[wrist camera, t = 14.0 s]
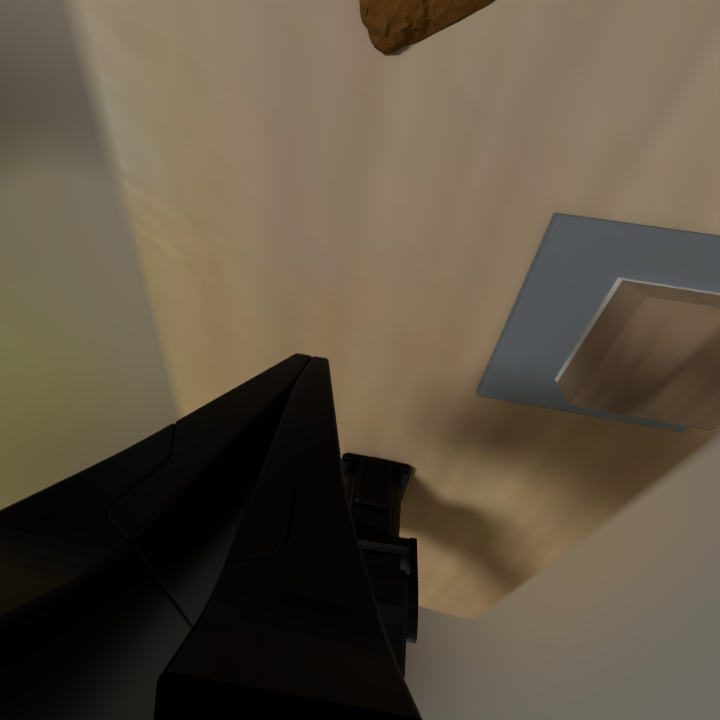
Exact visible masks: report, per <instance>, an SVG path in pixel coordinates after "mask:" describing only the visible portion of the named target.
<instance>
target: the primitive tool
mask: <svg viewBox="0 0 720 720" xmlns="http://www.w3.org/2000/svg"><path fill="white" fill-rule="evenodd" d="M359 1H360V13H361V19H362V22H363V24H364V25H365V26H366V27H367V28H368V33H369V37H370V40H371V42H372V44H373V46H374V47H375V48H376V49H378V50H379V51H380V52H382V53H386V52H393V51H396V50H398V49H399V48H401V47H402V46H405V45H410V44H413V43H416V42H420V41H422V40H424V39H426V38H427V37H429V36H431V35H433V34H434V33H436V32H438V31H440V30H442V29H444V28H446V27H448V26H450V25H452V24H454V23H456V22H458V21H460V20H462V19H464V18H466V17H467V16H469V15H471V14H473V13H475V12H476V11H478V10H479V9H481V8H483V7H484V6H486V5H487V4H488V3H489V2H490V1H492V0H359Z"/></svg>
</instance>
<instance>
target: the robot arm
mask: <svg viewBox="0 0 720 720" xmlns="http://www.w3.org/2000/svg"><path fill="white" fill-rule="evenodd" d="M410 474H411V467H410V466H408V465H404V464H399V463H394V462H388V461H383V460H378V459H373V458H368V457H363V456H358V455H353V454H348V453H346V454H343V456H342V460H341V457H340V447H339V439H338V431H337V423H336V415H335V408H334V400H333V392H332V384H331V376H330V368H329V361H328V359H327V358H321V357H316V356H314V357H311V356H310V355H304V354H299V353H297V354H294V355H292V356H290V357H289V358H287V359H285V360H283V361H282V362H280V363H278V364H276V365H275V366H273V367H271V368H269V369H268V370H266V371H264V372H262V373H261V374H259V375H257V376H255V377H253V378H252V379H250V380H248V381H246V382H245V383H243V384H241V385H239V386H238V387H236V388H234V389H232V390H231V391H229V392H227V393H225V394H224V395H222V396H220V397H218V398H216V399H215V400H213V401H211V402H209V403H208V404H206V405H204V406H202V407H201V408H199V409H197V410H195V411H194V412H192V413H190V414H188V415H187V416H185V417H183V418H181V419H179V420H178V421H176V423H175V424H170V425H169V426H167V427H165V428H163V429H162V430H160V431H158V432H156V433H155V434H153V435H151V436H149V437H147V438H145V439H144V440H142V441H140V442H138V443H136V444H134V445H132V446H131V447H129V448H127V449H125V450H123V451H121V452H119V453H117V454H115V455H113V456H111V457H109V458H107V459H105V460H103V461H101V462H99V463H97V464H95V465H93V466H91V467H89V468H87V469H85V470H83V471H81V472H79V473H77V474H74V475H73V476H70V477H68V478H66V479H64V480H62V481H60V482H58V483H56V484H54V485H52V486H50V487H47V488H45V489H44V490H41V491H39V492H37V493H35V494H33V495H31V496H29V497H27V498H25V499H23V500H20V501H19V502H16V503H14V504H12V505H10V506H8V507H6V508H4V509H2V510H0V720H422V718H421V716H420V713H419V711H418V709H417V707H416V704H415V702H414V700H413V698H412V695H411V693H410V691H409V689H408V686H407V684H406V682H405V680H404V676H405V653H406V642H409V643H413V644H416V640H417V626H418V567H417V539H416V538H410V539H407V538H401V537H399V530H400V510H401V501H402V498H403V495H404V492H405V489H406V486H407V483H408V480H409V477H410Z"/></svg>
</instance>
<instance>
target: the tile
mask: <svg viewBox="0 0 720 720" xmlns="http://www.w3.org/2000/svg"><path fill="white" fill-rule="evenodd" d="M555 381H556V382H557V384H558V386H559V387H560V389H561V391H562V393H563V394H564V396H565V398H566V399H567V401H568V403H569V405H572V406H577V407H583V408H588V409H594V410H599V411H605V412H610V413H616V414H621V415H627V416H633V417H638V418H644V419H649V420H655V421H660V422H666V423H671V424H677V425H682V426H688V427H693V428H699V429H704V430H710V431H712V430H713V429H714V428H715V427H717V426H718V425H719V424H720V293H716V292H710V291H703V290H697V289H690V288H684V287H677V286H671V285H664V284H658V283H651V282H645V281H638V280H632V279H625V278H619V277H618V279H617V280H616V282H615V283H614V285H613V287H612V288H611V290H610V291H609V293H608V295H607V296H606V298H605V299H604V301H603V303H602V304H601V306H600V307H599V309H598V311H597V312H596V314H595V315H594V317H593V319H592V320H591V322H590V323H589V325H588V327H587V328H586V330H585V331H584V333H583V335H582V336H581V338H580V339H579V341H578V343H577V344H576V346H575V347H574V349H573V351H572V352H571V354H570V355H569V357H568V359H567V360H566V362H565V363H564V365H563V367H562V368H561V370H560V372H559V373H558V375H557V376H556V378H555Z"/></svg>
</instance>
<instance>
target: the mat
mask: <svg viewBox="0 0 720 720" xmlns="http://www.w3.org/2000/svg"><path fill="white" fill-rule="evenodd" d="M618 277H619V278H625V279H632V280H638V281H645V282H651V283H658V284H664V285H671V286H677V287H684V288H690V289H697V290H703V291H710V292H716V293H720V236H719V235H712V234H705V233H697V232H690V231H683V230H676V229H668V228H661V227H654V226H647V225H640V224H632V223H625V222H618V221H611V220H603V219H596V218H589V217H582V216H574V215H567V214H560V213H554V214H553V217H552V219H551V221H550V223H549V226H548V228H547V230H546V233H545V235H544V237H543V240H542V242H541V244H540V246H539V249H538V251H537V253H536V256H535V258H534V260H533V262H532V265H531V267H530V269H529V272H528V274H527V276H526V278H525V281H524V283H523V285H522V288H521V290H520V292H519V295H518V297H517V299H516V301H515V304H514V306H513V308H512V311H511V313H510V315H509V317H508V320H507V322H506V324H505V327H504V329H503V331H502V334H501V336H500V338H499V340H498V343H497V345H496V347H495V350H494V352H493V354H492V356H491V359H490V361H489V363H488V366H487V368H486V370H485V372H484V375H483V377H482V379H481V382H480V384H479V386H478V389H477V395H478V396H484V397H489V398H495V399H500V400H506V401H512V402H517V403H523V404H528V405H534V406H539V407H545V408H551V409H556V410H562V411H567V412H573V413H579V414H584V415H590V416H595V417H601V418H606V419H612V420H618V421H623V422H629V423H634V424H640V425H645V426H651V427H657V428H662V429H668V430H673V431H679V432H683V431H684V430H685V429H686V428H687V427H688V426H682V425H677V424H671V423H666V422H660V421H655V420H649V419H644V418H638V417H633V416H627V415H621V414H616V413H610V412H605V411H599V410H594V409H588V408H583V407H577V406H572V405H569V403H568V401H567V399H566V398H565V396H564V394H563V393H562V391H561V389H560V387H559V386H558V384H557V382H556V381H555V378H556V376H557V375H558V373H559V372H560V370H561V368H562V367H563V365H564V363H565V362H566V360H567V359H568V357H569V355H570V354H571V352H572V351H573V349H574V347H575V346H576V344H577V343H578V341H579V339H580V338H581V336H582V335H583V333H584V331H585V330H586V328H587V327H588V325H589V323H590V322H591V320H592V319H593V317H594V315H595V314H596V312H597V311H598V309H599V307H600V306H601V304H602V303H603V301H604V299H605V298H606V296H607V295H608V293H609V291H610V290H611V288H612V287H613V285H614V283H615V282H616V280H617V279H618Z"/></svg>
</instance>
